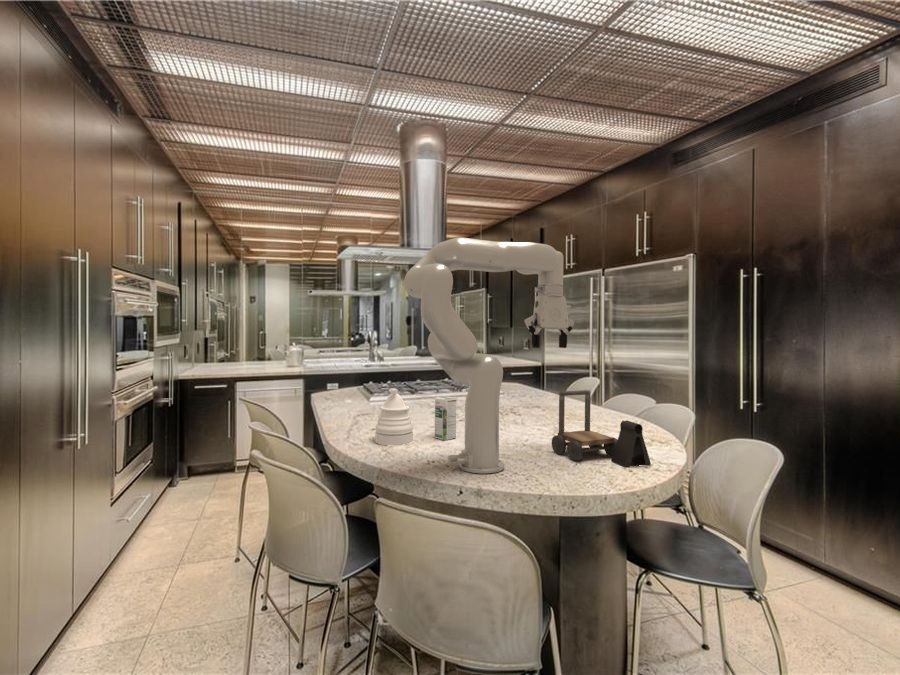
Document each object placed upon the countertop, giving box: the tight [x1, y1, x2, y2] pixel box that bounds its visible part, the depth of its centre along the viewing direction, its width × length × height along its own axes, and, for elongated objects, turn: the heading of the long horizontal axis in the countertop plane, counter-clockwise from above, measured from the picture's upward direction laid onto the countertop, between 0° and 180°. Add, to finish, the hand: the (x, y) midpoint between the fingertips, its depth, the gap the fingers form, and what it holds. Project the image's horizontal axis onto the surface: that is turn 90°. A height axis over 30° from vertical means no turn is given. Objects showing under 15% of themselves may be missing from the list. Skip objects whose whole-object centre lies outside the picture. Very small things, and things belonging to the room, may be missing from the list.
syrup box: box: [433, 396, 458, 441], centre depth 163 cm, size 6×6×14 cm
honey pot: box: [374, 388, 414, 446], centre depth 158 cm, size 13×13×18 cm
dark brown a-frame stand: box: [611, 420, 652, 468], centre depth 134 cm, size 9×6×12 cm, turn 107°
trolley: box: [551, 389, 618, 462], centre depth 142 cm, size 15×14×19 cm
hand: (549, 347), depth 142 cm, fingers open, 9 cm apart
